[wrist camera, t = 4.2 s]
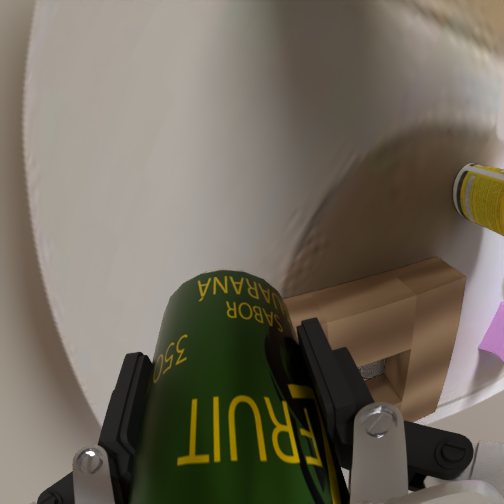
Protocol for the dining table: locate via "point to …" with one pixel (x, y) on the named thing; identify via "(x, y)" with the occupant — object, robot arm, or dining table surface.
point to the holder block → (394, 329)
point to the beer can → (232, 404)
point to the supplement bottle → (481, 196)
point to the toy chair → (495, 334)
